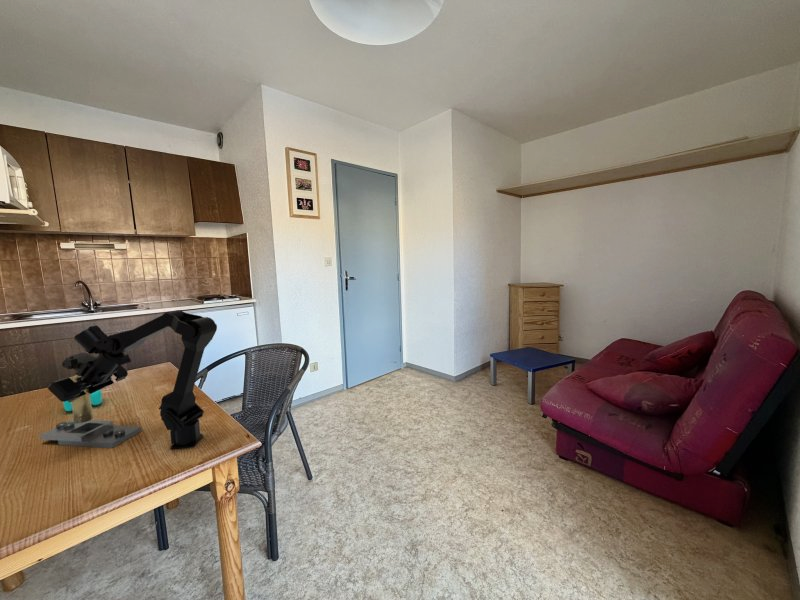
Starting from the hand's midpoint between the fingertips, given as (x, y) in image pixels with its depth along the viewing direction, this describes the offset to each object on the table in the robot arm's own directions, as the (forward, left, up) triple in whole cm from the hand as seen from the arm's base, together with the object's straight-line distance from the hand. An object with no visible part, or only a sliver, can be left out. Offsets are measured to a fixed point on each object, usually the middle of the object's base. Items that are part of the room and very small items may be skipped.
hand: (76, 398), depth 98 cm
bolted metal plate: (-3, +1, -13) cm, 13 cm away
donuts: (+16, -25, -13) cm, 33 cm away
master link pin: (-1, 0, -7) cm, 7 cm away
